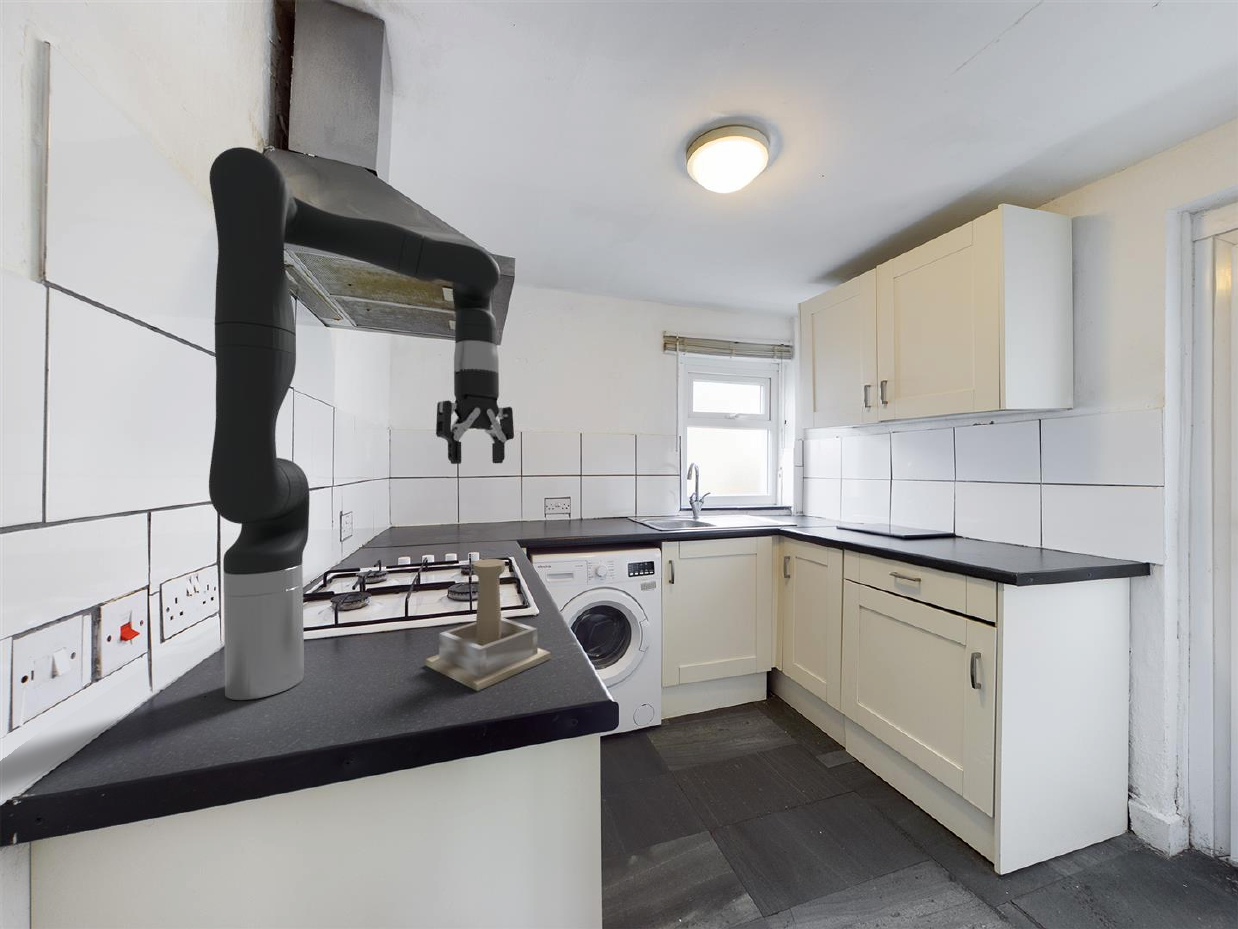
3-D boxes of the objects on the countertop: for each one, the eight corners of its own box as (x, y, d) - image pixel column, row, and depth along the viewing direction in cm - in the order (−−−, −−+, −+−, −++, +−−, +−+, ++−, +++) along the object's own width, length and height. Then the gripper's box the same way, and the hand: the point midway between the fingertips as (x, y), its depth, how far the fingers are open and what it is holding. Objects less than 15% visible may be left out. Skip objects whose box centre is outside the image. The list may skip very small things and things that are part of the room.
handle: (501, 646, 80) (501, 558, 81) (506, 661, 74) (507, 565, 75) (471, 650, 79) (471, 560, 79) (474, 666, 73) (475, 568, 73)
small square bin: (425, 665, 76) (425, 634, 76) (498, 639, 87) (497, 612, 87) (477, 691, 67) (477, 655, 67) (550, 658, 78) (550, 628, 78)
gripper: (496, 379, 91) (497, 463, 91) (427, 368, 80) (428, 464, 80) (522, 374, 86) (523, 463, 86) (451, 361, 75) (452, 463, 75)
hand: (477, 463), depth 83 cm, fingers open, 8 cm apart
